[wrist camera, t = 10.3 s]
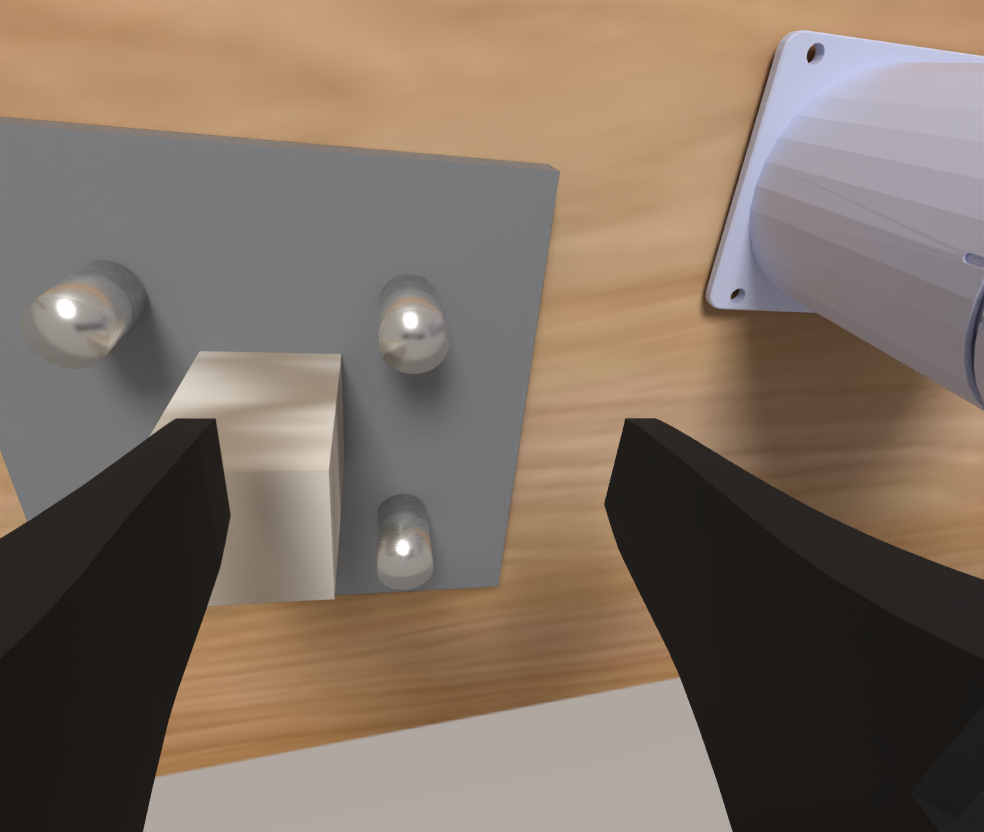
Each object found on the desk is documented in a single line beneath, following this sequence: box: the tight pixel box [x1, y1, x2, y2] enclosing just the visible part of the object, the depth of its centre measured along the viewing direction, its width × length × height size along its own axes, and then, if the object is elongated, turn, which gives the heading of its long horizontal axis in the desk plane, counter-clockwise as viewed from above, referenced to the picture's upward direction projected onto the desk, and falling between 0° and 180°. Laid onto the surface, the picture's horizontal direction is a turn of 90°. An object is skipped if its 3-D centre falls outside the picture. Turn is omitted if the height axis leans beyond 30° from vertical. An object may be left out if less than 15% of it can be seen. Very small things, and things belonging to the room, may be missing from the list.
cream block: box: [150, 351, 344, 606], centre depth 16 cm, size 4×4×6 cm
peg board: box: [0, 117, 560, 595], centre depth 18 cm, size 16×16×4 cm
